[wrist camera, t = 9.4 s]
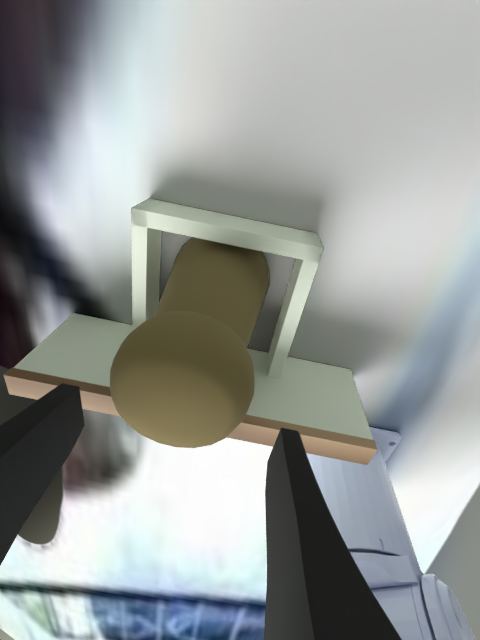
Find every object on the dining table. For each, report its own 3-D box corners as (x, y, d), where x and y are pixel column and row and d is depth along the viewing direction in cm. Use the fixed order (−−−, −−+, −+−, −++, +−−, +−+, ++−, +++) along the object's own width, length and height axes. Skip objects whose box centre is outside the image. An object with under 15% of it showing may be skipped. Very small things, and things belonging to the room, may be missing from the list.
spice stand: (344, 382, 23) (367, 465, 17) (75, 328, 22) (9, 394, 17) (408, 252, 17) (471, 310, 12) (56, 179, 17) (-50, 202, 12)
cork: (213, 207, 17) (139, 299, 8) (290, 276, 19) (306, 420, 9) (155, 280, 20) (49, 413, 10) (227, 335, 22) (191, 492, 12)
